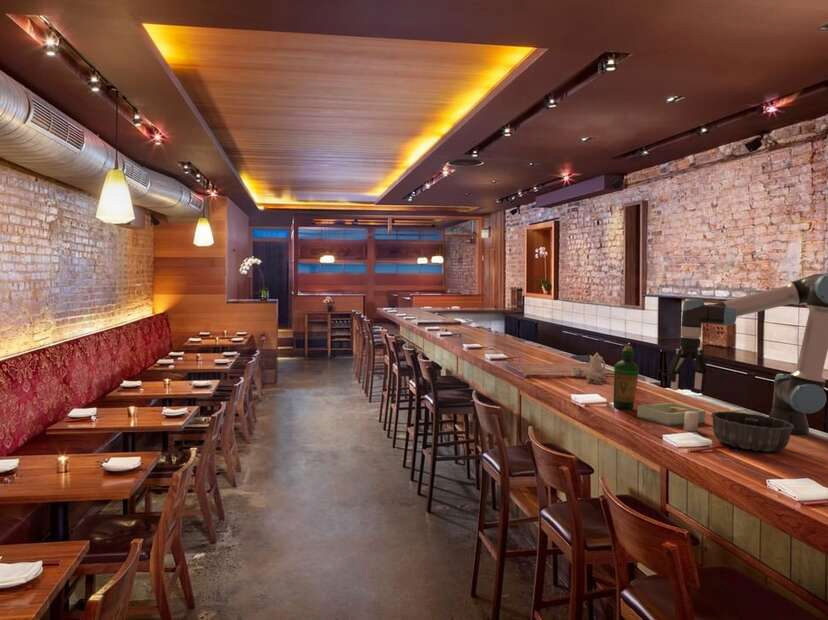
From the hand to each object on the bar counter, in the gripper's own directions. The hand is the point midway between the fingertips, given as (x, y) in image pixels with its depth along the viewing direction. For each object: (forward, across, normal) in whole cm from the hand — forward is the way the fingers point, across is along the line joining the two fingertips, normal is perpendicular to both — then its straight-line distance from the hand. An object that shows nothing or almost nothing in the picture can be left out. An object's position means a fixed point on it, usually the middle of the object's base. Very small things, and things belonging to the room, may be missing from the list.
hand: (685, 389), depth 247 cm
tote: (+15, -3, -9) cm, 17 cm away
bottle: (+15, +1, -32) cm, 35 cm away
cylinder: (+15, +3, +6) cm, 16 cm away
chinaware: (+15, -39, -98) cm, 106 cm away
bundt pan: (+15, 0, +29) cm, 33 cm away
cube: (+14, -3, -6) cm, 15 cm away
